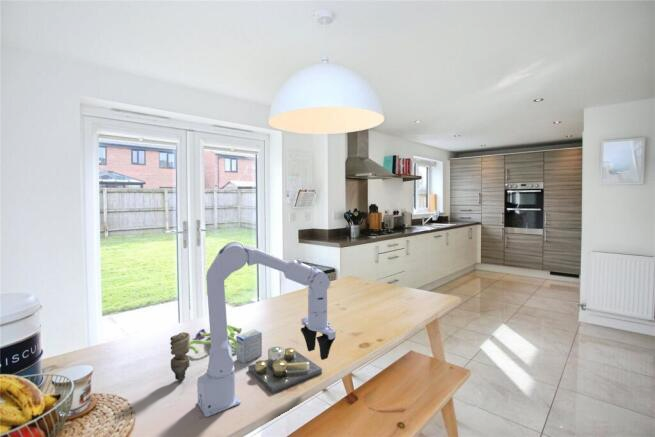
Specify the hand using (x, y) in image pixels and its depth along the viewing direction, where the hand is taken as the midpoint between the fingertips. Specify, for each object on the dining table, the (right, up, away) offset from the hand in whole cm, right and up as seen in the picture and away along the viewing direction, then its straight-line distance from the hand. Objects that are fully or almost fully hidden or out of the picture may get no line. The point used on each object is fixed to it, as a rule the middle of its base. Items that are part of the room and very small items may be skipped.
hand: (317, 354), depth 98 cm
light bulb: (-42, -9, +2) cm, 43 cm away
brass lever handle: (-9, -7, +5) cm, 12 cm away
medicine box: (-25, -9, +17) cm, 31 cm away
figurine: (-40, -8, +28) cm, 49 cm away
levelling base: (-11, -9, +8) cm, 16 cm away
